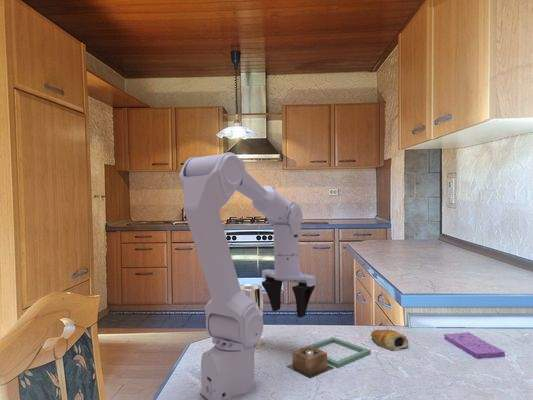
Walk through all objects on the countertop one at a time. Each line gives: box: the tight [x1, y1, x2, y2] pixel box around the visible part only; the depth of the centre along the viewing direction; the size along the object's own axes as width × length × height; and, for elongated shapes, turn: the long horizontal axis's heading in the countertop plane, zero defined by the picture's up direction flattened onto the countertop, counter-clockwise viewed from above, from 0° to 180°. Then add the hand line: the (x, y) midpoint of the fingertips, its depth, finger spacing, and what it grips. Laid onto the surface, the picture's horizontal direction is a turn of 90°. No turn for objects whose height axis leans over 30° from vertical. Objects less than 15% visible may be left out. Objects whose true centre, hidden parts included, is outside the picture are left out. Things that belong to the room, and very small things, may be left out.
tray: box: [299, 336, 372, 369], centre depth 82 cm, size 11×11×2 cm
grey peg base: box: [286, 350, 335, 379], centre depth 75 cm, size 7×7×4 cm
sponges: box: [443, 332, 506, 360], centre depth 87 cm, size 7×13×2 cm, turn 6°
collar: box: [292, 345, 328, 375], centre depth 75 cm, size 5×5×3 cm
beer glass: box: [239, 283, 264, 350], centre depth 88 cm, size 7×7×15 cm
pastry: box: [370, 329, 409, 352], centre depth 90 cm, size 9×7×4 cm
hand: (288, 313), depth 83 cm, fingers open, 7 cm apart
